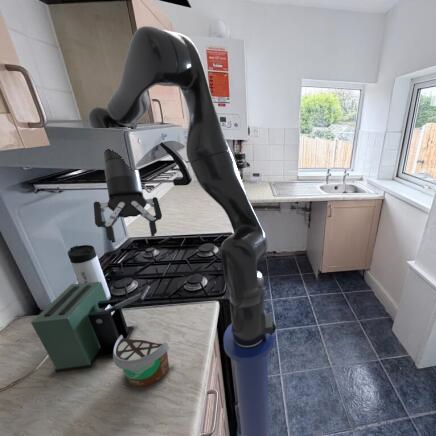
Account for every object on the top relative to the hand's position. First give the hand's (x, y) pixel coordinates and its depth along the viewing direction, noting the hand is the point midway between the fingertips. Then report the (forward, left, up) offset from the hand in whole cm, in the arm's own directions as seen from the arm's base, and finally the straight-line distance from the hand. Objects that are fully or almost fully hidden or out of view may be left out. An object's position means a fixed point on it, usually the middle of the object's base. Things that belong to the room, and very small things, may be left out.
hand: (134, 238), depth 60 cm
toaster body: (+14, +6, -29) cm, 33 cm away
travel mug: (+22, -13, -29) cm, 38 cm away
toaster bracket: (+8, +6, -29) cm, 30 cm away
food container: (-3, +18, -29) cm, 34 cm away
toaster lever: (+3, +6, -16) cm, 18 cm away
